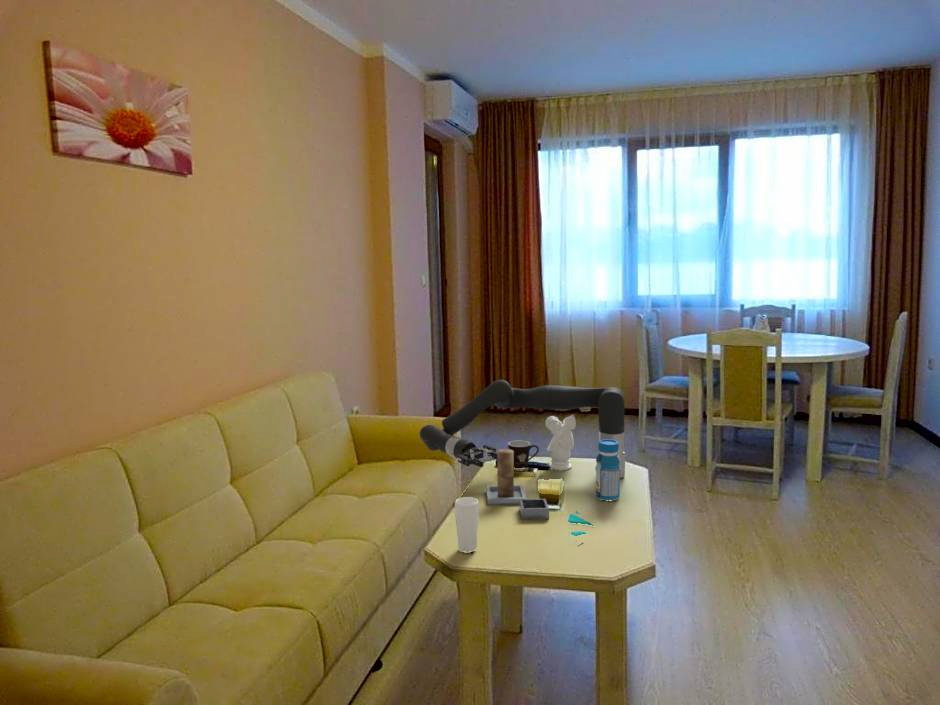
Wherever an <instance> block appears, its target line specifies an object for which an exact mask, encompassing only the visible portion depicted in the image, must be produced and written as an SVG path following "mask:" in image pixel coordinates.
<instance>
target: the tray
mask: <svg viewBox="0 0 940 705" xmlns="http://www.w3.org/2000/svg"><path fill="white" fill-rule="evenodd" d="M485 493H486V500H487V506H510V505H515V506H516V505H519V499H528V498H527V494H526V491H525V487H524V485H523V484H514V497H513V498H499V497H498V484H496V485H495V484H494V485H485Z"/></svg>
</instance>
